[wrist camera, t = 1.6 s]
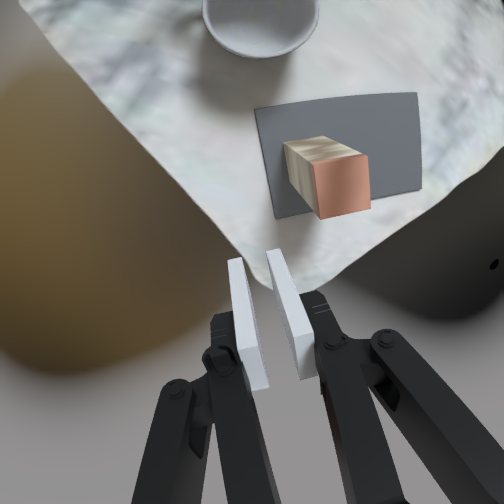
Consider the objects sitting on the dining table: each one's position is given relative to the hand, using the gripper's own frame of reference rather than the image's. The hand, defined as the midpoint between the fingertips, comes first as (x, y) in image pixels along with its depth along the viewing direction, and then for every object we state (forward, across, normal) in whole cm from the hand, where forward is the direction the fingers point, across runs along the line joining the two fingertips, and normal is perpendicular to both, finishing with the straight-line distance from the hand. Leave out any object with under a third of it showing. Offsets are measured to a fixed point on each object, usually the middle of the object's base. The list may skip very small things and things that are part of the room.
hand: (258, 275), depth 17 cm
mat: (+22, +15, 0) cm, 27 cm away
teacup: (+23, +5, +19) cm, 30 cm away
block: (+22, +9, 0) cm, 24 cm away
